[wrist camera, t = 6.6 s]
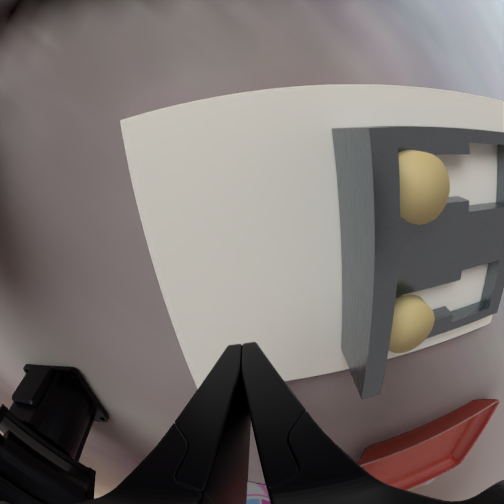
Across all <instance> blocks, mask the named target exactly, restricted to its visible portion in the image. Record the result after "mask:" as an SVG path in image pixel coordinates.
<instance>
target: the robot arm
mask: <svg viewBox="0 0 504 504" xmlns="http://www.w3.org/2000/svg"><path fill="white" fill-rule="evenodd" d="M23 369H24V371H25V373H26V375H25V377H24V378H23V380H22V381H21V383H20V384H19V386H18V387H17V389H16V391H15V392H14V394H13V395H12V400H13V401H14V402H13V404H12V406H11V407H10V409H9V410H8V408H7V407H6V406H5V405H3V404H2V406H1V407H0V430H1V431H2V432H3V433H4V435H3V436H2V435H1V434H0V504H246V501H247V483H248V464H249V446H250V426H251V422H252V427H253V431H254V436H255V440H256V445H257V449H258V454H259V458H260V462H261V467H262V471H263V475H264V479H265V483H266V487H267V491H268V496H269V500H270V504H504V480H502V481H500V482H498V483H496V484H494V485H492V486H491V487H489V488H488V489H486V490H485V491H483V492H481V493H480V494H478V495H476V496H475V497H472V498H470V499H467V500H463V501H453V502H450V501H443V500H439V499H435V498H431V497H427V496H424V495H419V494H416V493H413V492H410V491H406V490H403V489H400V488H397V487H394V486H391V485H388V484H386V483H383V482H382V481H380V480H378V479H376V478H375V477H374V476H372V475H371V474H369V473H368V472H367V471H366V470H365V469H363V468H362V467H361V466H360V465H359V464H358V463H356V462H355V461H354V460H353V459H352V458H351V457H350V456H348V455H347V454H346V453H345V452H344V451H343V450H342V449H341V448H339V447H338V446H337V445H336V444H335V443H334V442H333V441H332V440H331V439H330V438H329V437H328V436H327V435H326V434H325V433H324V432H323V431H322V429H321V428H320V427H319V426H318V425H317V424H316V422H315V421H314V420H313V419H312V417H311V416H310V415H309V413H308V412H306V410H305V408H304V407H303V406H302V404H301V403H300V402H299V400H298V399H297V398H296V396H295V395H294V394H293V392H292V391H291V390H290V388H289V387H288V386H287V384H286V383H285V382H284V380H283V379H282V377H281V376H280V375H279V373H278V372H277V371H276V369H275V368H274V366H273V365H272V364H271V362H270V361H269V359H268V358H267V357H266V355H265V354H264V352H263V351H262V350H261V348H260V347H259V345H258V344H257V343H256V342H249V343H244V344H243V345H241V344H233V345H228V346H227V347H226V349H225V350H224V352H223V353H222V355H221V356H220V358H219V359H218V361H217V362H216V364H215V365H214V367H213V368H212V369H211V371H210V372H209V374H208V375H207V377H206V378H205V380H204V381H203V383H202V384H201V385H200V387H199V388H198V390H197V391H196V393H195V394H194V395H193V397H192V398H191V400H190V401H189V403H188V404H187V405H186V407H185V408H184V410H183V411H182V412H181V414H180V415H179V417H178V418H177V419H176V421H175V423H174V424H173V425H172V426H171V428H170V429H169V430H168V432H167V433H166V434H165V436H164V437H163V438H162V440H161V441H160V442H159V443H158V445H157V446H156V447H155V448H154V449H153V450H152V451H151V453H150V454H149V455H148V456H147V457H146V458H145V459H144V460H143V461H142V462H141V463H140V464H139V465H138V466H137V467H136V468H135V469H134V470H133V471H132V472H131V473H130V474H129V475H128V476H127V477H126V478H125V479H124V480H123V481H122V482H121V483H120V484H119V485H118V486H117V487H116V488H115V489H114V490H112V491H111V492H109V493H108V494H106V495H104V496H102V497H99V498H96V499H94V487H95V475H96V471H95V470H93V469H91V468H88V467H86V466H84V465H83V464H81V463H79V462H78V461H79V458H80V456H81V453H82V450H83V447H84V444H85V442H86V439H87V436H88V434H89V431H90V428H91V426H92V423H93V421H98V422H108V419H109V416H108V415H107V413H106V412H105V411H104V409H103V408H102V407H101V405H100V404H99V402H98V401H97V399H96V398H95V396H94V395H93V394H92V392H91V391H90V389H89V387H88V386H87V384H86V383H85V381H84V380H83V378H82V377H81V375H80V373H79V372H78V371H77V370H76V369H75V368H73V367H61V366H44V365H31V364H26V365H25V366H24V368H23Z"/></svg>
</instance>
